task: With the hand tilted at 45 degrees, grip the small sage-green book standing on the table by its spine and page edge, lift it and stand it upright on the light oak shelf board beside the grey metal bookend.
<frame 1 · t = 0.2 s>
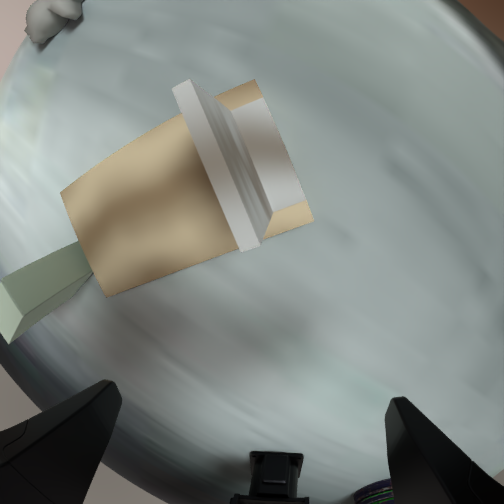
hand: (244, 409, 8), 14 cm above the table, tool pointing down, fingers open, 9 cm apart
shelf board: (133, 217, 22), on the table
storage jar: (381, 489, 31), on the table
sage book: (76, 270, 25), on the table
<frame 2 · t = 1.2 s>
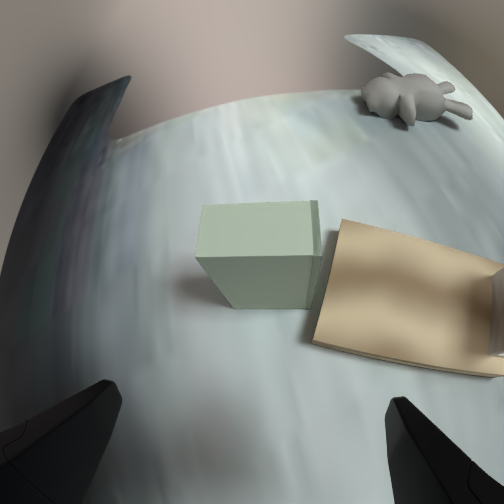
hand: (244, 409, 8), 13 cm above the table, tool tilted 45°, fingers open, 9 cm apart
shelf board: (385, 297, 22), on the table
sage book: (272, 290, 23), on the table
bunny figurine: (413, 112, 31), on the table
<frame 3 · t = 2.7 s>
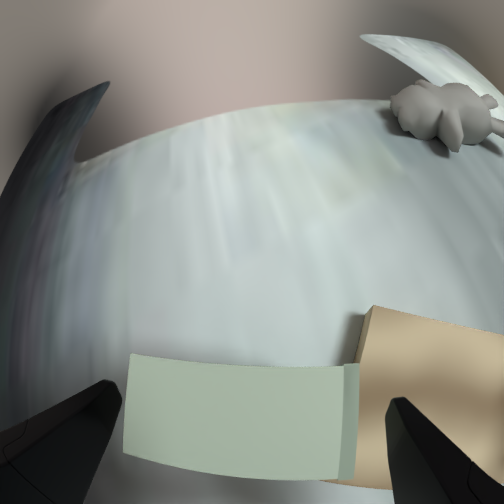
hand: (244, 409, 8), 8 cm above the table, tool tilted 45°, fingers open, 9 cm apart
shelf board: (418, 407, 13), on the table
sage book: (266, 403, 15), on the table
bunny figurine: (451, 131, 23), on the table
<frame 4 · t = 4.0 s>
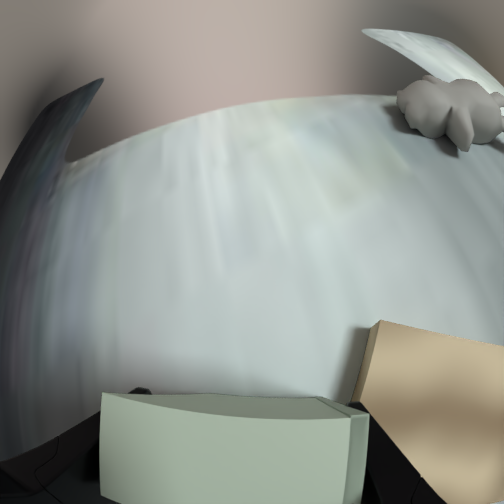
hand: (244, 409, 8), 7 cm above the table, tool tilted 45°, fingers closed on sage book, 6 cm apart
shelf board: (424, 425, 12), on the table
sage book: (263, 423, 13), on the table, touching gripper
bunny figurine: (460, 130, 21), on the table
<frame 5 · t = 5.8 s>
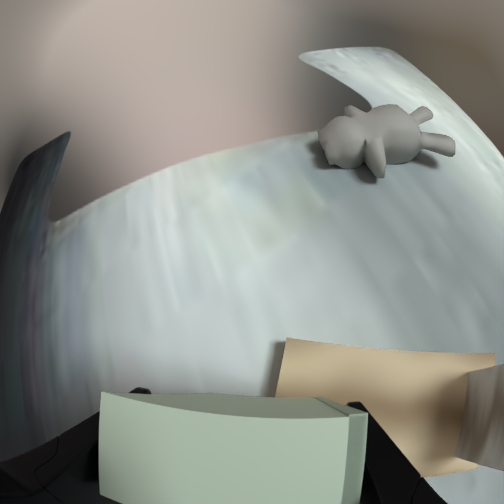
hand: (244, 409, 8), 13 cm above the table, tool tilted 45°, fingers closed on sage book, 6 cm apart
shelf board: (339, 412, 18), on the table
sage book: (262, 423, 13), point 6 cm above the table, touching gripper
bunny figurine: (383, 152, 29), on the table
when the fingers open (10 cm above the table, at t = 7.8 s): sage book drops 1 cm, resting on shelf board.
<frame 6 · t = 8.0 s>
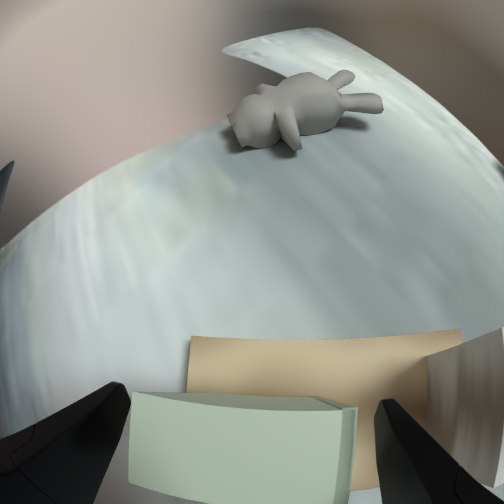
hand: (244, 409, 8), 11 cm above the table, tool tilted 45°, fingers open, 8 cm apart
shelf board: (269, 416, 17), on the table
sage book: (264, 419, 15), point 2 cm above the table, touching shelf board
bunny figurine: (304, 124, 28), on the table
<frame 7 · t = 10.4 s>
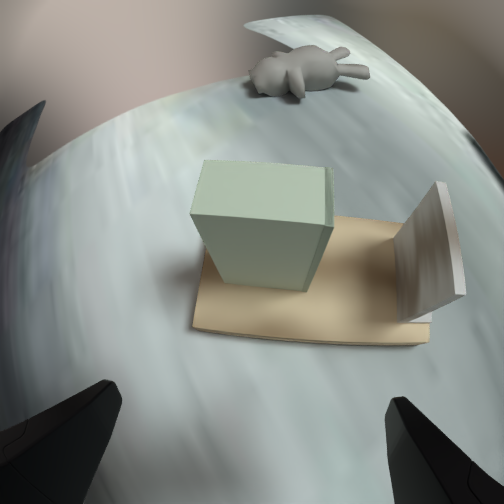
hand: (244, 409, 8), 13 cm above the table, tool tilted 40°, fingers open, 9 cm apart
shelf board: (269, 276, 23), on the table
sage book: (267, 268, 22), point 2 cm above the table, touching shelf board
bunny figurine: (307, 84, 34), on the table
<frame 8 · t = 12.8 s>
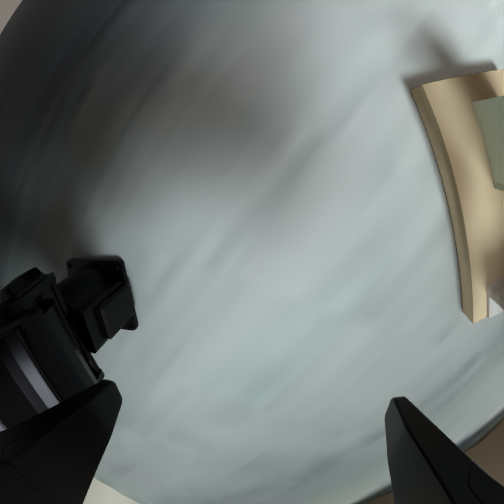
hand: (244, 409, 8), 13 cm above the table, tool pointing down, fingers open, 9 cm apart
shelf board: (483, 142, 15), on the table
sage book: (498, 141, 13), point 2 cm above the table, touching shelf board
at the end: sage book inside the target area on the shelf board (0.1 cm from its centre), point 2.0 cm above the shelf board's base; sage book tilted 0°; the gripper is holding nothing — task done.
